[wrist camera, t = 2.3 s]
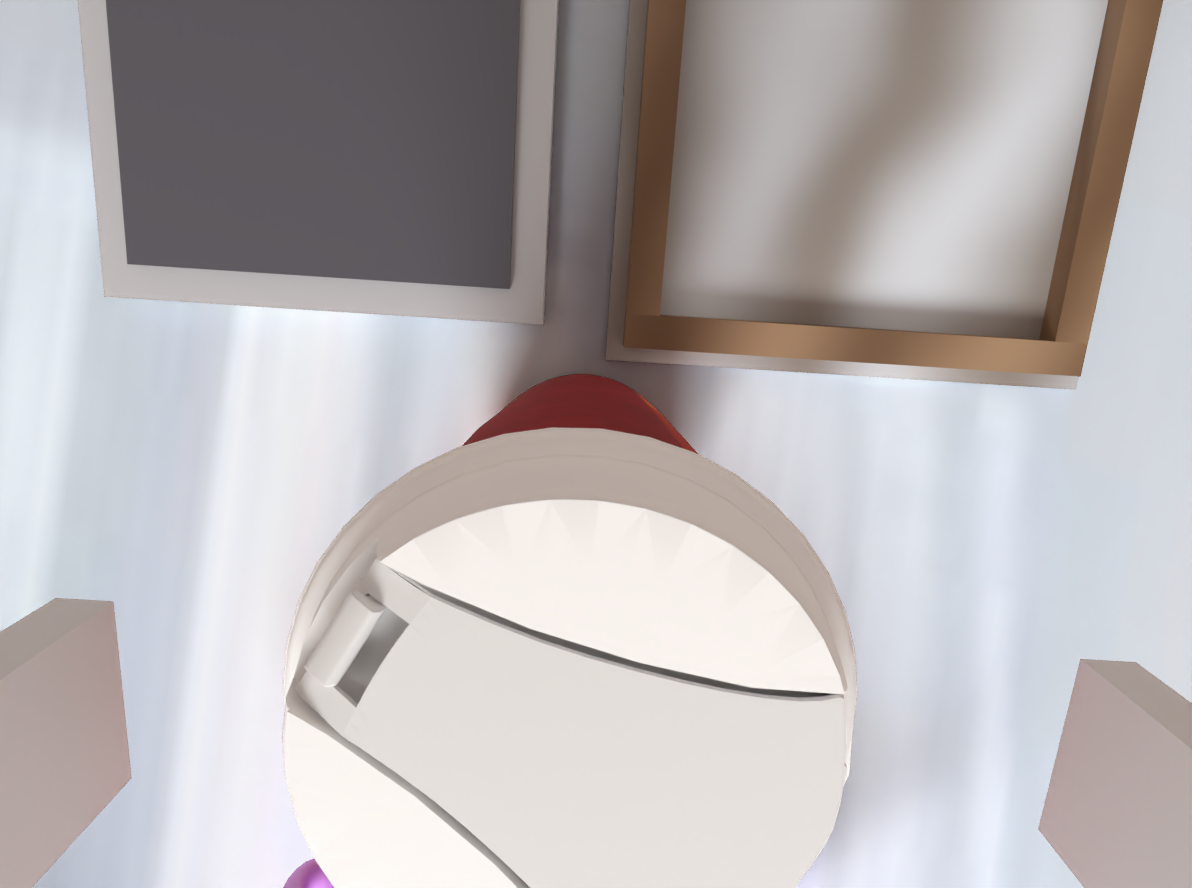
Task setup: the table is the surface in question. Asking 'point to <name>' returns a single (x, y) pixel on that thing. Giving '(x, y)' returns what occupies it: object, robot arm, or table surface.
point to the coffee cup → (569, 667)
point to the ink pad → (324, 153)
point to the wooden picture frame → (873, 183)
